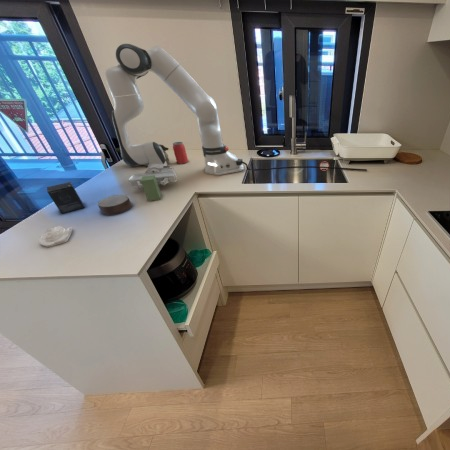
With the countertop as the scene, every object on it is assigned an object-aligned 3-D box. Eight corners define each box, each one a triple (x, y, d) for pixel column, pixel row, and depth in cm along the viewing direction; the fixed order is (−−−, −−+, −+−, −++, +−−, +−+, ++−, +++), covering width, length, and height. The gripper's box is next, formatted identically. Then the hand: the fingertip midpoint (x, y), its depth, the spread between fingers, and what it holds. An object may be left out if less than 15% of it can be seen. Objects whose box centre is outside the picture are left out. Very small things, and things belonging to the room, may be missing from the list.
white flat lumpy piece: (76, 224, 86) (43, 239, 78) (82, 234, 88) (51, 250, 81) (60, 218, 89) (26, 232, 82) (66, 228, 91) (34, 242, 84)
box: (83, 203, 108) (70, 181, 102) (84, 208, 104) (72, 185, 98) (60, 209, 103) (46, 186, 97) (61, 214, 100) (46, 191, 94)
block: (161, 194, 115) (154, 175, 110) (160, 199, 112) (153, 179, 106) (150, 196, 114) (142, 176, 108) (148, 201, 110) (140, 180, 105)
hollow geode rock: (124, 174, 148) (110, 162, 134) (123, 155, 150) (109, 142, 136) (173, 168, 154) (165, 157, 140) (171, 150, 156) (162, 137, 142)
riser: (134, 201, 110) (131, 193, 108) (129, 212, 101) (125, 204, 99) (106, 204, 107) (102, 196, 105) (98, 217, 98) (93, 208, 96)
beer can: (190, 160, 155) (185, 141, 149) (185, 164, 150) (180, 144, 143) (180, 160, 156) (175, 141, 149) (175, 163, 151) (169, 144, 144)
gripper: (130, 170, 118) (123, 181, 107) (175, 165, 123) (173, 175, 113) (135, 182, 121) (128, 194, 110) (178, 177, 127) (177, 188, 116)
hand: (151, 184), depth 112 cm, fingers open, 8 cm apart
